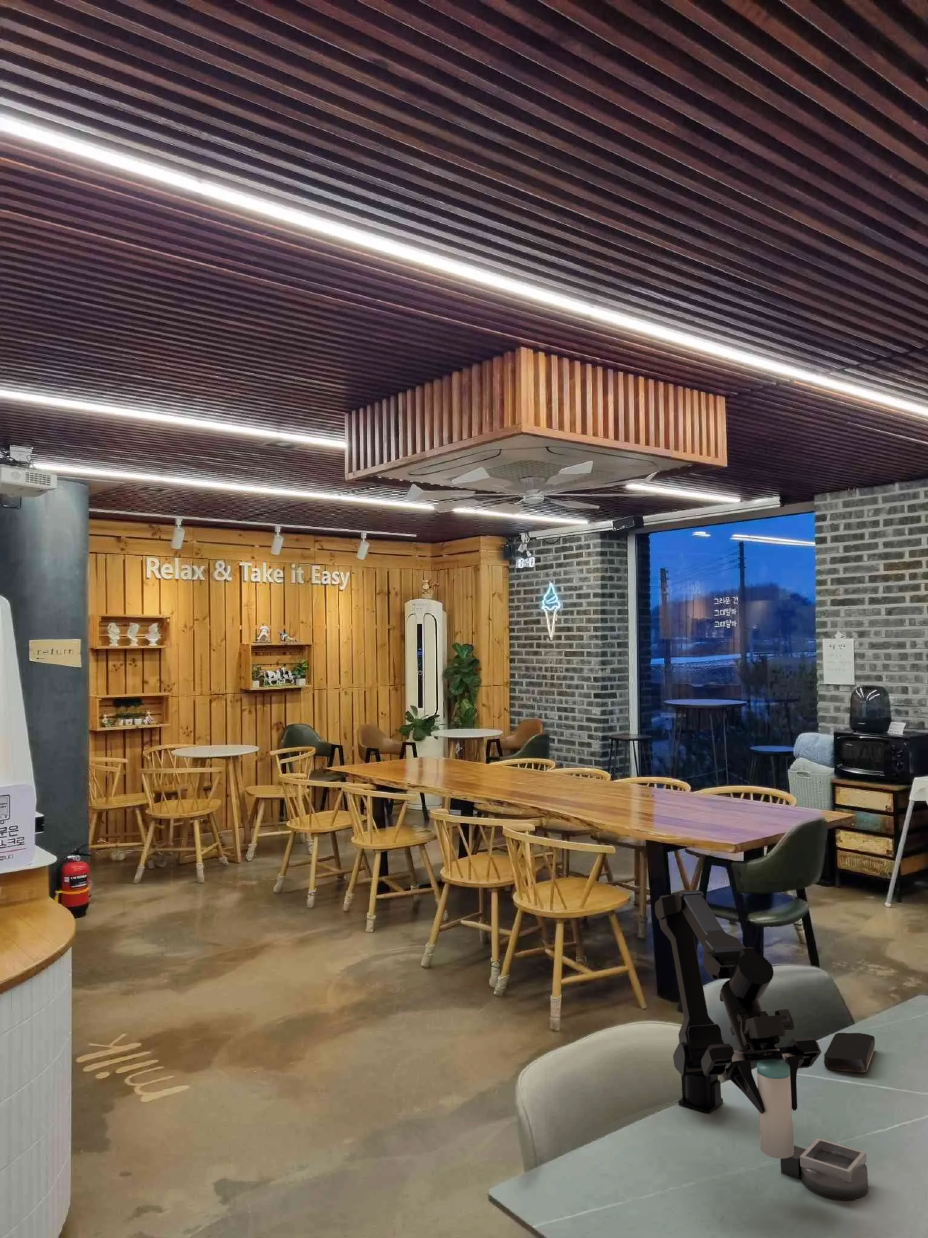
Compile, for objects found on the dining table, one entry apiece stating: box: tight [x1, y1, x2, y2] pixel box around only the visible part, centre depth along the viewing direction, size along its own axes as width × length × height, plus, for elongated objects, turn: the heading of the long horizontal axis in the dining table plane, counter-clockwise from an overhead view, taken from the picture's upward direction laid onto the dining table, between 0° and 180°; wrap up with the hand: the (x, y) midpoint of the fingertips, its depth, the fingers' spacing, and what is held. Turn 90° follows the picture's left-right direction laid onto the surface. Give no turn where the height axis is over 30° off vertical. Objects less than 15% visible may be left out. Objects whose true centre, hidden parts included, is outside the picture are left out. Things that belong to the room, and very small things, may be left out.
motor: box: [779, 1137, 869, 1202], centre depth 149 cm, size 13×10×4 cm
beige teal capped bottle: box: [756, 1059, 795, 1159], centre depth 146 cm, size 5×5×13 cm
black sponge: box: [823, 1032, 876, 1073], centre depth 196 cm, size 16×8×4 cm, turn 149°
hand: (779, 1111), depth 145 cm, fingers closed on beige teal capped bottle, 5 cm apart
